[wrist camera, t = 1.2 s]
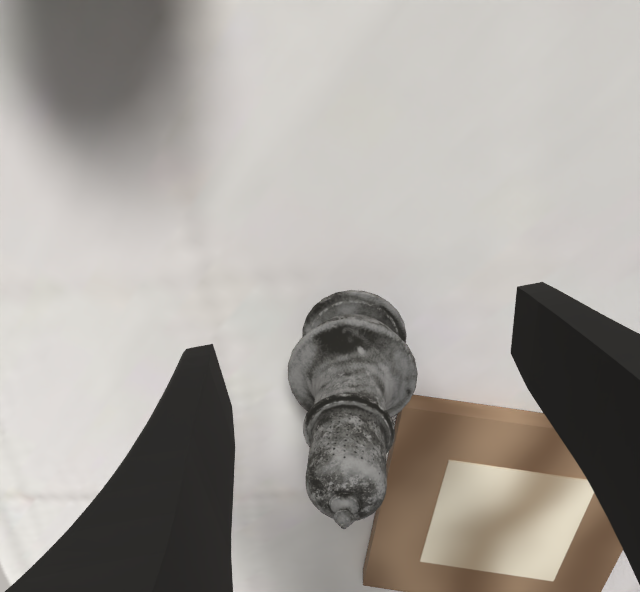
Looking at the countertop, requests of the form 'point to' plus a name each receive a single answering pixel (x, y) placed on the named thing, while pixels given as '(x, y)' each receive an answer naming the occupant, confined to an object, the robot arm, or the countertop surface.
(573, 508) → the walnut board
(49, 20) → the countertop surface
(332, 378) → the salt shaker
